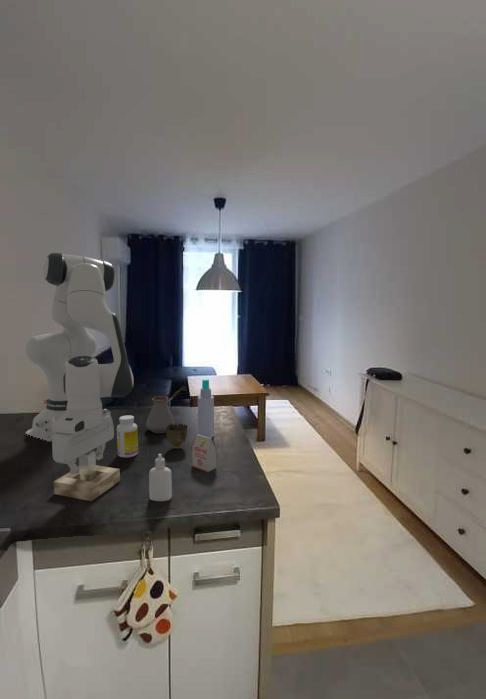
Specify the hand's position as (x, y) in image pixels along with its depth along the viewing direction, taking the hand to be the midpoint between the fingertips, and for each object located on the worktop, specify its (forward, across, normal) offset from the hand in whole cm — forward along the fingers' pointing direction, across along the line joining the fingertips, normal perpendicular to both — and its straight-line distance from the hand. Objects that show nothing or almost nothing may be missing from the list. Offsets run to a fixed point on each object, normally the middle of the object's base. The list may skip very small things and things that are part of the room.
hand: (87, 465), depth 106 cm
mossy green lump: (+6, -33, +10) cm, 35 cm away
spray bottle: (+6, -47, +15) cm, 50 cm away
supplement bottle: (+6, -23, -3) cm, 24 cm away
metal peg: (+6, 0, 0) cm, 6 cm away
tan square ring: (+6, 0, 0) cm, 6 cm away
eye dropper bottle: (+6, -1, +22) cm, 23 cm away
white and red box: (+6, -22, +25) cm, 34 cm away
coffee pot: (+6, -53, -4) cm, 54 cm away
